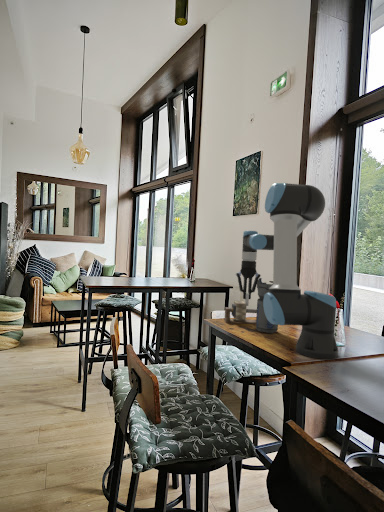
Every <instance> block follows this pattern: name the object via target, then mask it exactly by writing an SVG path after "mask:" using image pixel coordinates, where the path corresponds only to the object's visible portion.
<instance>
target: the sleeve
mask: <svg viewBox="0 0 384 512" xmlns="http://www.w3.org/2000/svg"><path fill="white" fill-rule="evenodd" d="M233 304H235V305H236V317H233V319H235V320H242V321H246V319H247V318H246V317H247V313H246V309H247V306H246V305H247V304H246V303H245V300H244V301H243V300H234V301H233Z"/></svg>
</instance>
